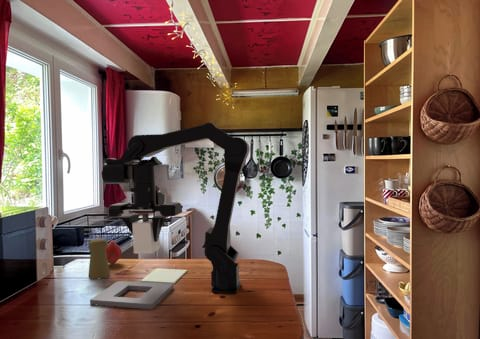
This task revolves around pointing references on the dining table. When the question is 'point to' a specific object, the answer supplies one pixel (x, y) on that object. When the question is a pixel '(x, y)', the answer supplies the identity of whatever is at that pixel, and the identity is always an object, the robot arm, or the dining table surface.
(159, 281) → the mat
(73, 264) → the dining table surface
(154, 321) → the dining table surface
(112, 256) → the onion
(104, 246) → the olive green tapered block
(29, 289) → the dining table surface
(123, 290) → the gray rectangular frame
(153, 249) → the plug
